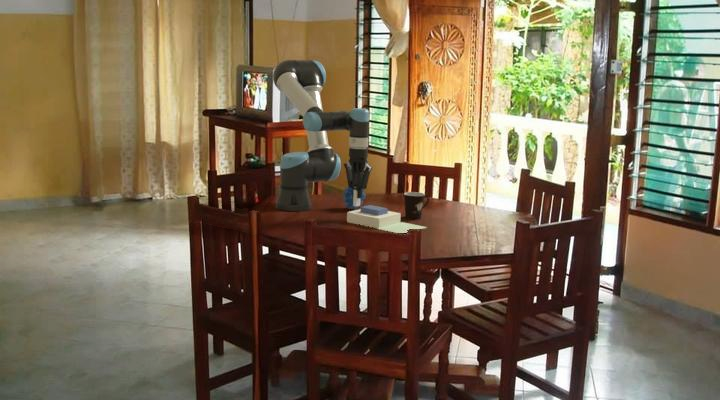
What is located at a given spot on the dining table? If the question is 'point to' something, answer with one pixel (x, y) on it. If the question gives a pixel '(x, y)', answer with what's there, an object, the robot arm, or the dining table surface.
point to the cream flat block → (373, 219)
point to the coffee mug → (414, 204)
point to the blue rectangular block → (374, 210)
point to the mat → (401, 227)
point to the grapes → (351, 198)
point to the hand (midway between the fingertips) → (356, 205)
